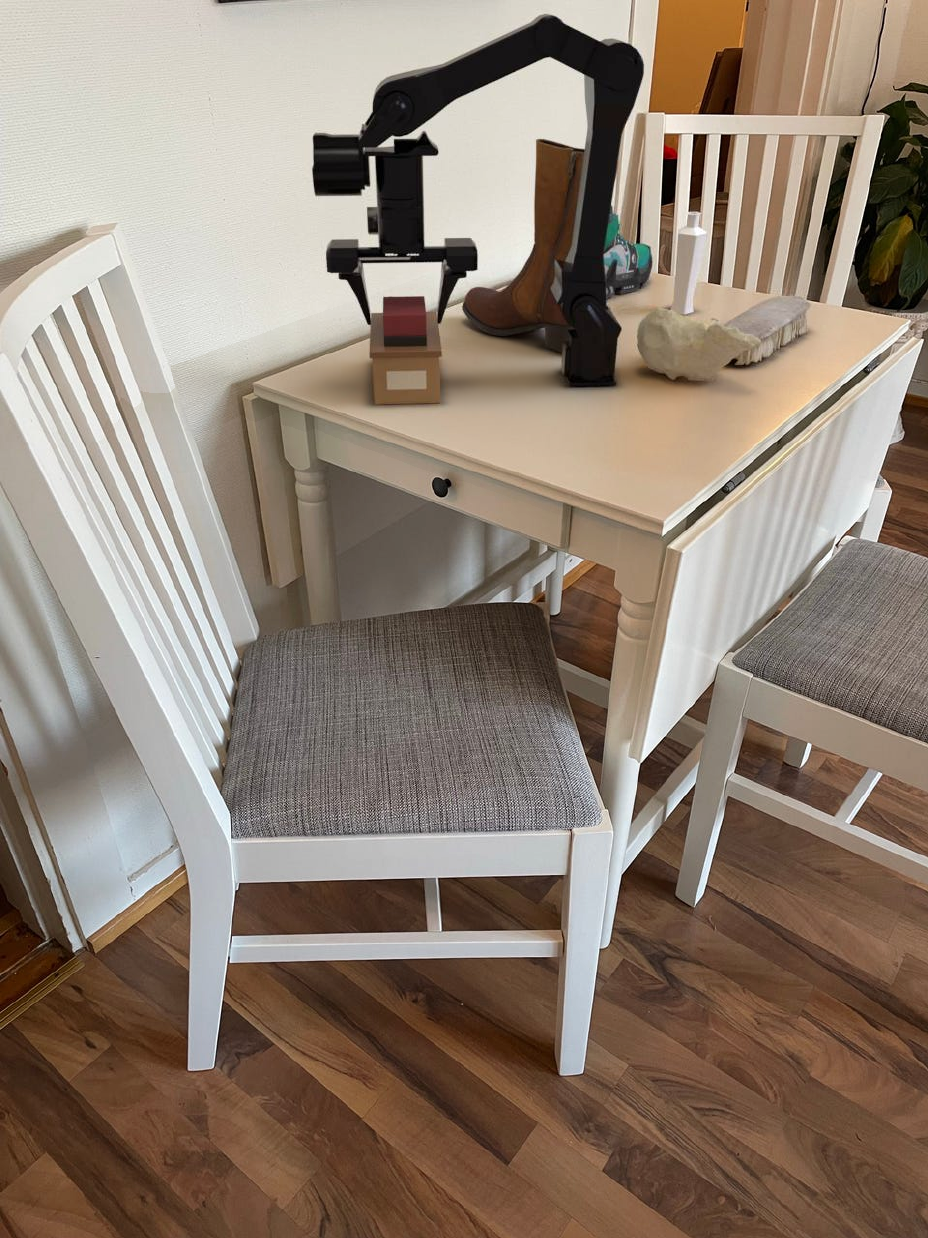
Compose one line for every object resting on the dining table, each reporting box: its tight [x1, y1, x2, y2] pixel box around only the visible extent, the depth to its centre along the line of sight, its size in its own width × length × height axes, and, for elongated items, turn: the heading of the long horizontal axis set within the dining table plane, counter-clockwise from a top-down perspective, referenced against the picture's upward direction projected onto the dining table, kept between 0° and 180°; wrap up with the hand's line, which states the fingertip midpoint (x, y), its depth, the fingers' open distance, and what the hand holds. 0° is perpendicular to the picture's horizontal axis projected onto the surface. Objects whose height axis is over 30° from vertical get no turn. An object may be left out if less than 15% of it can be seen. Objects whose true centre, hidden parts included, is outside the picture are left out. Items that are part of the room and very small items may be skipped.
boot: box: [461, 138, 619, 354], centre depth 138 cm, size 25×9×27 cm, turn 39°
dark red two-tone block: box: [382, 295, 427, 347], centre depth 125 cm, size 5×12×4 cm, turn 4°
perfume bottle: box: [669, 211, 708, 316], centre depth 152 cm, size 5×4×15 cm
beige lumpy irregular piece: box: [636, 307, 761, 383], centre depth 130 cm, size 15×7×15 cm
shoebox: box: [369, 311, 443, 405], centre depth 128 cm, size 9×16×7 cm, turn 4°
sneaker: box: [604, 204, 653, 300], centre depth 162 cm, size 9×24×15 cm, turn 134°
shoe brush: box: [723, 295, 812, 366], centre depth 141 cm, size 24×8×5 cm, turn 143°
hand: (404, 323), depth 126 cm, fingers open, 9 cm apart
